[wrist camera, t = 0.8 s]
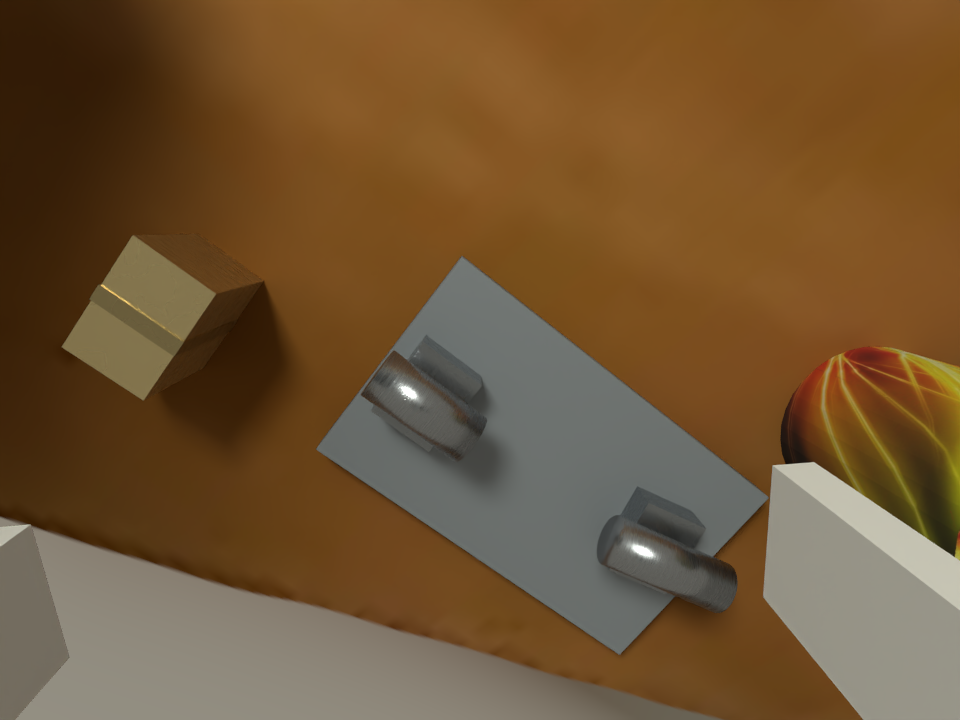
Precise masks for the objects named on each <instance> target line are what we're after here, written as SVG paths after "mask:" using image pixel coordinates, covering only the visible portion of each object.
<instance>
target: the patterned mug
mask: <svg viewBox="0 0 960 720" xmlns="http://www.w3.org/2000/svg"><path fill="white" fill-rule="evenodd" d="M780 440H781V447H782V454H783V457H784V460H785V462H786V464H797V463H810V462H815V463H816V464H818V465H819V466H821V467H822V468H823V469H825V470H826V471H828V472H829V473H831V474H832V475H834V476H835V477H837V478H838V479H840V480H841V481H843V482H844V483H846V484H847V485H849V486H850V487H852V488H853V489H855V490H856V491H857V492H859V493H860V494H862V495H863V496H865V497H866V498H868V499H869V500H871V501H872V502H874V503H875V504H877V505H878V506H880V507H881V508H883V509H884V510H886V511H887V512H889V513H890V514H891V515H893V516H894V517H896V518H897V519H899V520H900V521H902V522H903V523H905V524H906V525H908V526H909V527H911V528H912V529H914V530H915V531H917V532H918V533H920V534H921V535H923V536H924V537H925V538H927V539H928V540H930V541H931V542H933V543H934V544H936V545H937V546H939V547H940V548H942V549H943V550H945V551H946V552H948V553H949V554H951V555H952V556H954V557H955V558H957V559H958V560H959V561H960V367H959V366H955V365H951V364H948V363H944V362H941V361H937V360H934V359H930V358H926V357H923V356H919V355H916V354H912V353H908V352H905V351H901V350H898V349H894V348H887V347H879V346H877V347H862V348H858V349H854V350H850V351H846V352H844V353H842V354H839V355H837V356H835V357H833V358H831V359H829V360H827V361H826V362H824V363H823V364H822V365H820V366H819V367H817V368H816V369H815V370H814V371H813V372H811V373H810V374H809V375H808V376H807V377H806V378H805V379H804V380H803V381H802V383H801V384H800V385H799V387H798V388H797V390H796V391H795V392H794V394H793V395H792V397H791V399H790V402H789V404H788V406H787V408H786V410H785V414H784V417H783V421H782V425H781V439H780Z"/></svg>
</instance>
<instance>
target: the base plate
mask: <svg viewBox="0 0 960 720" xmlns="http://www.w3.org/2000/svg"><path fill="white" fill-rule="evenodd" d="M426 335H427V336H428V337H430V338H431V339H433V340H434V341H435V342H437V343H438V344H439V345H441V346H442V347H443V348H445V349H446V350H447V351H449V352H450V353H451V354H453V355H454V356H455V357H457V358H458V359H459V360H461V361H462V362H463V363H465V364H466V365H467V366H469V367H470V368H471V369H473V370H474V371H475V372H477V373H478V374H479V375H481V382H482V386H481V388H480V389H479V390H478V391H477V393H476V394H475V395H474V396H473V398H472V399H471V400H470V401H469V403H468V405H470V406H471V407H473V408H474V409H475V410H477V411H478V412H479V413H481V414H482V415H483V416H485V417H486V418H487V423H486V426H485V429H484V431H483V433H482V434H481V436H480V438H479V439H478V441H477V442H476V444H475V445H474V446H473V448H472V449H471V450H470V451H469V453H468V454H467V455H466V456H465V457H464V458H463V459H461V460H460V461H458V462H454V461H453V460H452V459H450V458H449V457H447V456H446V455H444V454H443V453H442V452H440V451H439V450H437V449H436V448H435V447H432V449H431V450H430V451H429V452H428V451H427V450H425V449H424V448H423V447H421V446H420V445H418V444H417V443H415V442H414V441H413V440H411V439H410V438H408V437H407V436H406V435H404V434H403V433H401V432H400V431H398V430H397V429H396V428H394V427H393V426H391V425H390V424H388V423H387V422H386V421H384V420H383V419H381V418H380V417H379V416H377V415H376V414H374V413H373V412H371V410H372V408H373V406H374V404H372V403H371V402H370V401H368V400H367V399H365V398H364V397H362V396H361V393H362V391H363V390H364V388H365V387H366V386H367V384H368V383H369V381H370V380H371V379H372V377H373V376H374V375H375V373H376V372H377V370H378V369H379V368H380V367H381V365H382V364H383V363H384V361H385V360H386V359H387V357H388V356H389V355H390V354H391V353H392V351H393V350H395V351H396V352H397V353H399V354H400V355H401V356H403V357H404V358H406V359H408V358H409V356H410V355H411V354H412V353H413V351H414V350H415V349H416V347H417V346H418V345H419V343H420V342H421V341H422V340H423V338H424V337H425V336H426ZM316 450H318V451H319V452H321V453H322V454H324V455H325V456H327V457H328V458H329V459H331V460H332V461H334V462H335V463H337V464H338V465H340V466H341V467H343V468H344V469H346V470H347V471H349V472H350V473H352V474H353V475H355V476H356V477H358V478H359V479H361V480H362V481H363V482H365V483H366V484H368V485H369V486H371V487H372V488H374V489H375V490H377V491H378V492H380V493H381V494H383V495H384V496H386V497H387V498H389V499H390V500H392V501H393V502H394V503H396V504H397V505H399V506H400V507H402V508H403V509H405V510H406V511H408V512H409V513H411V514H412V515H414V516H415V517H417V518H418V519H420V520H421V521H423V522H424V523H426V524H427V525H428V526H430V527H431V528H433V529H434V530H436V531H437V532H439V533H440V534H442V535H443V536H445V537H446V538H448V539H449V540H451V541H452V542H454V543H455V544H457V545H458V546H459V547H461V548H462V549H464V550H465V551H467V552H468V553H470V554H471V555H473V556H474V557H476V558H477V559H479V560H480V561H482V562H483V563H485V564H486V565H488V566H489V567H490V568H492V569H493V570H495V571H496V572H498V573H499V574H501V575H502V576H504V577H505V578H507V579H508V580H510V581H511V582H513V583H514V584H516V585H517V586H519V587H520V588H522V589H523V590H524V591H526V592H527V593H529V594H530V595H532V596H533V597H535V598H536V599H538V600H539V601H541V602H542V603H544V604H545V605H547V606H548V607H550V608H551V609H553V610H554V611H555V612H557V613H558V614H560V615H561V616H563V617H564V618H566V619H567V620H569V621H570V622H572V623H573V624H575V625H576V626H578V627H579V628H581V629H582V630H584V631H585V632H586V633H588V634H589V635H591V636H592V637H594V638H595V639H597V640H598V641H600V642H601V643H603V644H604V645H606V646H607V647H609V648H610V649H612V650H613V651H615V652H616V653H618V654H619V655H620V654H621V653H622V652H623V651H624V650H625V649H626V647H627V646H628V645H629V644H630V643H631V642H632V641H633V640H634V639H635V638H636V637H637V636H638V635H639V634H640V633H641V632H642V631H643V630H644V629H645V627H646V626H647V625H648V624H649V623H650V622H651V621H652V620H653V619H654V618H655V617H656V616H657V615H658V614H659V613H660V612H661V611H662V610H663V609H664V607H665V606H666V605H667V604H668V603H669V602H670V601H671V600H672V599H673V598H674V597H675V596H674V595H672V594H669V593H666V595H665V594H663V593H660V592H658V591H656V590H653V589H651V588H649V587H646V586H644V585H642V584H639V583H637V582H635V581H632V580H630V579H628V578H625V577H623V576H621V575H618V574H616V573H614V572H611V571H609V570H608V568H607V567H606V566H604V565H601V564H600V563H599V561H598V559H597V544H598V540H599V536H600V534H601V531H602V529H603V527H604V526H605V524H606V523H607V521H608V520H609V519H610V518H611V517H613V516H615V515H619V516H620V515H621V513H622V511H623V509H624V508H625V506H626V504H627V503H628V501H629V499H630V498H631V496H632V494H633V492H634V491H635V489H636V487H637V486H638V487H640V488H643V489H645V490H647V491H649V492H651V493H654V494H656V495H658V496H660V497H662V498H665V499H667V500H669V501H671V502H674V503H676V504H678V505H680V506H682V507H685V508H687V509H689V510H691V511H692V512H693V513H694V514H695V515H696V517H697V518H698V519H699V520H700V521H701V523H702V524H703V525H704V526H705V528H706V531H705V532H704V534H703V536H702V537H701V539H700V540H699V542H698V544H697V545H696V547H695V548H694V549H696V550H699V551H701V552H703V553H705V554H708V555H710V556H712V557H713V556H714V555H715V554H716V553H717V552H718V551H719V550H720V549H721V547H722V546H723V545H724V544H725V543H726V542H727V541H728V540H729V539H730V538H731V537H732V536H733V535H734V534H735V533H736V532H737V531H738V530H739V529H740V527H741V526H742V525H743V524H744V523H745V522H746V521H747V520H748V519H749V518H750V517H751V516H752V515H753V514H754V513H755V512H756V511H757V510H758V509H759V507H760V506H761V505H762V504H763V503H764V502H765V501H766V500H767V499H768V498H769V497H768V496H766V495H765V494H764V493H763V492H762V491H761V490H760V489H758V488H757V487H756V486H755V485H754V484H752V483H751V482H750V481H749V480H747V479H746V478H745V477H743V476H742V475H741V474H740V473H738V472H737V471H736V470H735V469H733V468H732V467H731V466H729V465H728V464H727V463H726V462H724V461H723V460H722V459H721V458H719V457H718V456H717V455H715V454H714V453H713V452H712V451H710V450H709V449H708V448H707V447H705V446H704V445H703V444H701V443H700V442H699V441H698V440H696V439H695V438H694V437H692V436H691V435H690V434H689V433H687V432H686V431H685V430H684V429H682V428H681V427H680V426H678V425H677V424H676V423H675V422H673V421H672V420H671V419H670V418H668V417H667V416H666V415H664V414H663V413H662V412H661V411H659V410H658V409H657V408H656V407H654V406H653V405H652V404H650V403H649V402H648V401H647V400H645V399H644V398H643V397H642V396H640V395H639V394H638V393H636V392H635V391H634V390H633V389H631V388H630V387H629V386H627V385H626V384H625V383H624V382H622V381H621V380H620V379H619V378H617V377H616V376H615V375H613V374H612V373H611V372H610V371H608V370H607V369H606V368H605V367H603V366H602V365H601V364H599V363H598V362H597V361H596V360H594V359H593V358H592V357H591V356H589V355H588V354H587V353H585V352H584V351H583V350H582V349H580V348H579V347H578V346H576V345H575V344H574V343H573V342H571V341H570V340H569V339H568V338H566V337H565V336H564V335H562V334H561V333H560V332H559V331H557V330H556V329H555V328H554V327H552V326H551V325H550V324H548V323H547V322H546V321H545V320H543V319H542V318H541V317H540V316H538V315H537V314H536V313H534V312H533V311H532V310H531V309H529V308H528V307H527V306H526V305H524V304H523V303H522V302H520V301H519V300H518V299H517V298H515V297H514V296H513V295H511V294H510V293H509V292H508V291H506V290H505V289H504V288H503V287H501V286H500V285H499V284H497V283H496V282H495V281H494V280H492V279H491V278H490V277H489V276H487V275H486V274H485V273H483V272H482V271H481V270H480V269H478V268H477V267H476V266H475V265H473V264H472V263H471V262H469V261H468V260H467V259H466V258H464V257H463V256H461V258H460V259H459V260H458V262H457V263H456V264H455V265H454V267H453V268H452V269H451V271H450V272H449V273H448V275H447V276H446V277H445V279H444V280H443V281H442V283H441V284H440V285H439V287H438V288H437V289H436V291H435V292H434V293H433V294H432V296H431V297H430V298H429V300H428V301H427V302H426V304H425V305H424V306H423V308H422V309H421V310H420V312H419V313H418V314H417V316H416V317H415V318H414V320H413V321H412V322H411V323H410V325H409V326H408V327H407V329H406V330H405V331H404V333H403V334H402V335H401V337H400V338H399V339H398V341H397V342H396V343H395V345H394V346H393V347H392V349H391V350H390V351H389V352H388V354H387V355H386V356H385V358H384V359H383V360H382V362H381V363H380V364H379V366H378V367H377V368H376V370H375V371H374V372H373V374H372V375H371V376H370V378H369V379H368V380H367V381H366V383H365V384H364V385H363V387H362V388H361V389H360V391H359V392H358V393H357V395H356V396H355V397H354V399H353V400H352V401H351V403H350V404H349V405H348V407H347V408H346V409H345V410H344V412H343V413H342V414H341V416H340V417H339V418H338V420H337V421H336V422H335V424H334V425H333V426H332V428H331V429H330V430H329V432H328V433H327V434H326V436H325V437H324V438H323V440H322V441H321V443H320V444H319V446H318V447H317V449H316Z"/></svg>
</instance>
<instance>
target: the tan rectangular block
mask: <svg viewBox="0 0 960 720" xmlns="http://www.w3.org/2000/svg"><path fill="white" fill-rule="evenodd" d="M263 282H264V281H263V280H262V279H261V278H259V277H258V276H256V275H255V274H254V273H252V272H251V271H249V270H248V269H247V268H245V267H244V266H243V265H241V264H240V263H238V262H237V261H236V260H234V259H233V258H231V257H230V256H229V255H227V254H226V253H225V252H223V251H222V250H220V249H219V248H218V247H216V246H215V245H213V244H212V243H211V242H209V241H208V240H207V239H205V238H204V237H202V236H201V235H200V234H158V235H133V236H132V237H131V239H130V240H129V242H128V243H127V245H126V247H125V248H124V250H123V251H122V253H121V254H120V256H119V258H118V259H117V261H116V262H115V264H114V265H113V267H112V269H111V270H110V272H109V273H108V275H107V276H106V278H105V280H104V281H103V283H102V284H98V286H97V288H96V289H95V291H94V292H93V294H92V295H91V297H90V300H91V302H90V303H89V305H88V306H87V308H86V309H85V311H84V313H83V314H82V316H81V317H80V319H79V320H78V322H77V324H76V325H75V327H74V328H73V330H72V331H71V333H70V335H69V336H68V338H67V339H66V341H65V342H64V344H63V346H62V348H64V349H65V350H67V351H68V352H70V353H71V354H73V355H74V356H76V357H78V358H79V359H81V360H82V361H84V362H85V363H87V364H88V365H90V366H91V367H93V368H94V369H96V370H97V371H99V372H100V373H102V374H104V375H105V376H107V377H108V378H110V379H111V380H113V381H114V382H116V383H117V384H119V385H120V386H122V387H123V388H125V389H126V390H128V391H129V392H131V393H133V394H134V395H136V396H137V397H139V398H140V399H142V400H143V401H144V400H146V399H147V398H149V397H151V396H153V395H155V394H157V393H158V392H160V391H162V390H164V389H166V388H168V387H169V386H171V385H173V384H175V383H177V382H179V381H180V380H182V379H184V378H186V377H188V376H190V375H192V374H193V373H195V372H197V371H199V370H201V369H203V368H204V367H205V365H206V364H207V362H208V361H209V359H210V358H211V356H212V355H213V354H214V352H215V351H216V349H217V348H218V346H219V345H220V344H221V342H222V341H223V339H224V338H225V336H226V335H227V333H228V332H230V331H231V329H232V328H233V327H234V325H235V324H236V322H237V321H238V318H239V316H240V315H241V313H242V312H243V310H244V309H245V308H246V306H247V305H248V303H249V302H250V300H251V299H252V297H253V296H254V295H255V293H256V292H257V290H258V289H259V287H260V286H261V284H262V283H263Z"/></svg>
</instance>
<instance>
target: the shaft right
mask: <svg viewBox="0 0 960 720" xmlns="http://www.w3.org/2000/svg"><path fill="white" fill-rule="evenodd" d="M705 531H706V528H705V526H704V525H703V524H702V523H701V521H700V520H699V519H698V518H697V517H696V515H695V514H694V513H693V512H692V511H691V510H689V509H687V508H685V507H682V506H680V505H678V504H676V503H674V502H671V501H669V500H667V499H665V498H662V497H660V496H658V495H656V494H654V493H651V492H649V491H647V490H645V489H643V488H640V487H638V486H637V487H636V489H635V491H634V492H633V494H632V496H631V498H630V499H629V501H628V503H627V504H626V506H625V508H624V509H623V511H622V513H621V515H620V516H619V515H615V516H613V517H611V518H610V519H609V520H608V521H607V523H606V524H605V526H604V527H603V529H602V531H601V534H600V536H599V540H598V544H597V559H598V561H599V563H600V564H601V565H604V566H606V567H607V568H608V570H609V571H611V572H614V573H616V574H618V575H621V576H623V577H625V578H628V579H630V580H632V581H635V582H637V583H639V584H642V585H644V586H646V587H649V588H651V589H653V590H656V591H658V592H660V593H663V594H665V595H666V593H669V594H672V595H674V596H676V597H679V598H681V599H683V600H686V601H688V602H690V603H693V604H695V605H697V606H700V607H702V608H704V609H707V610H709V611H711V612H714V613H720V612H723V611H724V610H726V609H727V608H728V607H729V606H730V605H731V603H732V601H733V599H734V597H735V594H736V591H737V575H736V572H735V570H734V568H733V567H732V566H731V565H730V564H728V563H726V562H723V561H721V560H719V559H717V558H714V557H712V556H710V555H708V554H705V553H703V552H701V551H699V550H696V549H694V548H695V547H696V545H697V544H698V542H699V540H700V539H701V537H702V536H703V534H704V532H705Z"/></svg>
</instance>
